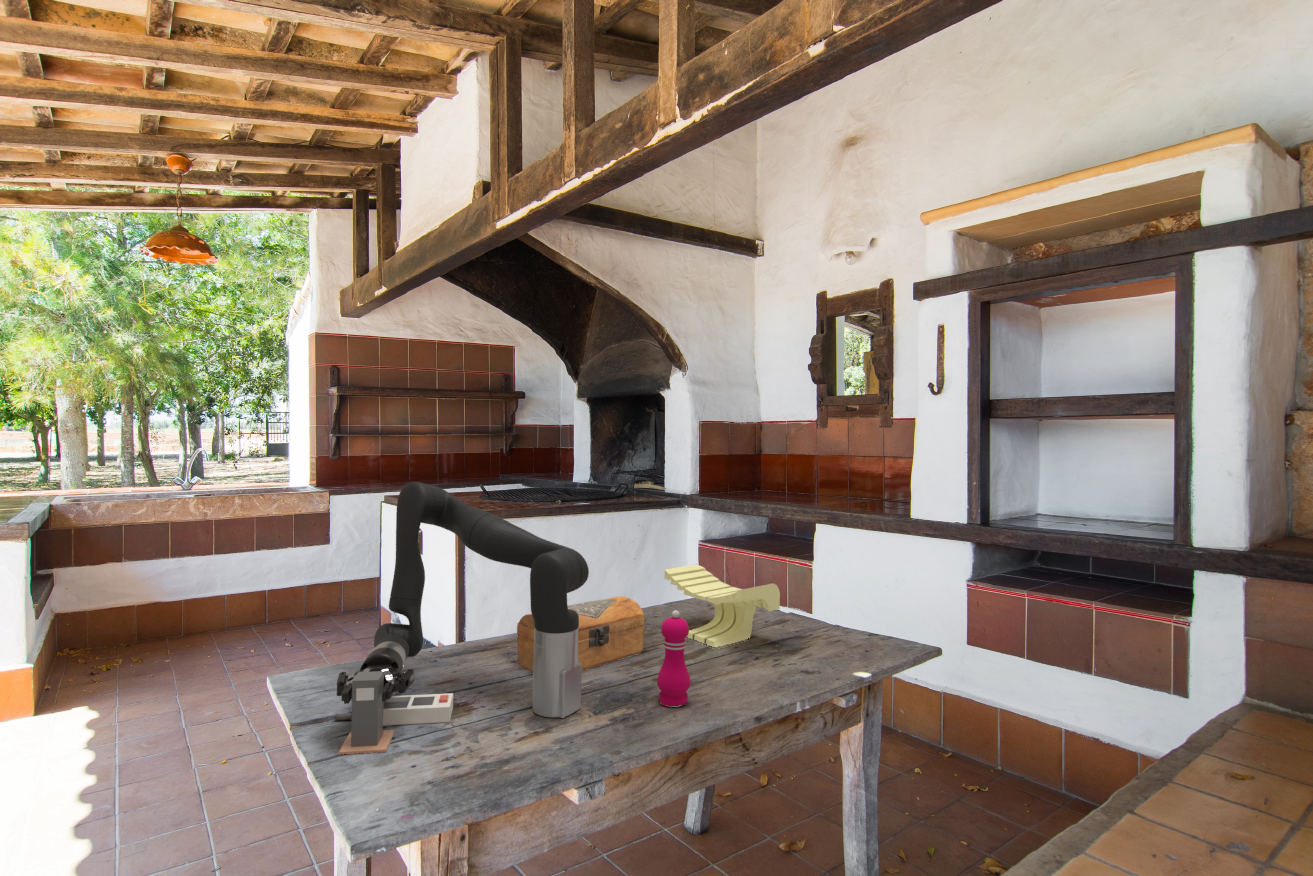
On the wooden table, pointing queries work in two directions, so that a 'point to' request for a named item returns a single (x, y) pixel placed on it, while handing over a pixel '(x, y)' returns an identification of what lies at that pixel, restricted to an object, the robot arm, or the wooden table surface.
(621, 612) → the wooden box
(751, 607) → the slatted curved stool
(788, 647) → the wooden table surface
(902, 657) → the wooden table surface
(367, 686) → the block
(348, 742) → the tile coaster
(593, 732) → the wooden table surface
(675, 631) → the pepper mill
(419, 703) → the power strip
